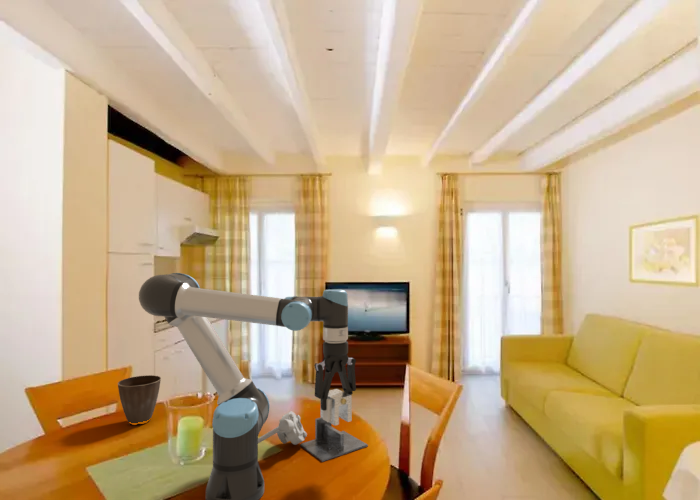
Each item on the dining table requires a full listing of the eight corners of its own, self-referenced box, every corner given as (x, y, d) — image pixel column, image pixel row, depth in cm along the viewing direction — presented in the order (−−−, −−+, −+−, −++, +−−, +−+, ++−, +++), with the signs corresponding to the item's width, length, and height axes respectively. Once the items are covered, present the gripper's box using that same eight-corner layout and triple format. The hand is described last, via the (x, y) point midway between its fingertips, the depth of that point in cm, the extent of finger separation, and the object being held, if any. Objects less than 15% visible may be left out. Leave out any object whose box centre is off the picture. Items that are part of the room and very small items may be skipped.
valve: (310, 439, 142) (293, 437, 129) (265, 466, 142) (244, 465, 129) (299, 411, 147) (282, 406, 134) (256, 436, 147) (235, 433, 134)
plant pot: (107, 427, 155) (108, 384, 156) (138, 413, 169) (139, 373, 170) (139, 431, 151) (140, 387, 151) (169, 417, 165) (169, 376, 165)
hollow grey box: (335, 426, 119) (335, 399, 119) (320, 417, 126) (320, 392, 126) (352, 421, 123) (352, 395, 123) (337, 413, 130) (336, 388, 130)
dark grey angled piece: (322, 461, 128) (322, 437, 128) (299, 445, 139) (300, 422, 139) (367, 446, 139) (367, 423, 139) (343, 432, 150) (343, 411, 150)
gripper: (314, 346, 117) (314, 429, 116) (368, 339, 128) (368, 414, 127) (301, 342, 123) (301, 421, 122) (353, 335, 134) (354, 407, 133)
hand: (335, 417), depth 125 cm, fingers closed on hollow grey box, 6 cm apart
